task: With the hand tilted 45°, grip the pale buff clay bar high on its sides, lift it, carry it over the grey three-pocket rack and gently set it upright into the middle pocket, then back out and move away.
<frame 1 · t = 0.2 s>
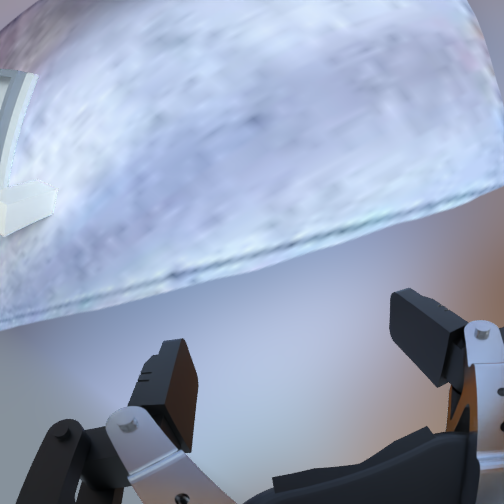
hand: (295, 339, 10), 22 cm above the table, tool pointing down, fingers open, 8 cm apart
clay bar: (45, 196, 29), on the table
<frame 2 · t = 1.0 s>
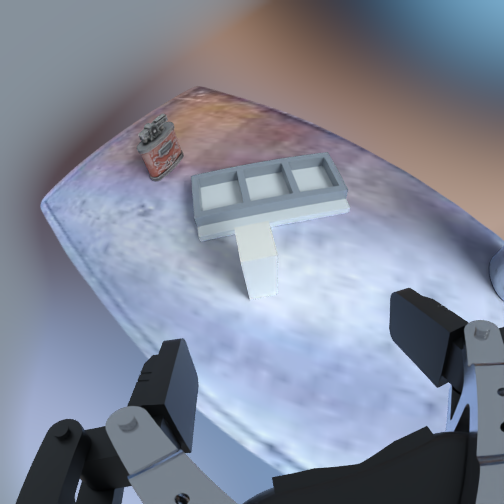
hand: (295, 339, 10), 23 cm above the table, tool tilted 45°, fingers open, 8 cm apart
clay bar: (260, 283, 36), on the table
rack: (267, 195, 43), on the table
lighter: (167, 167, 49), on the table
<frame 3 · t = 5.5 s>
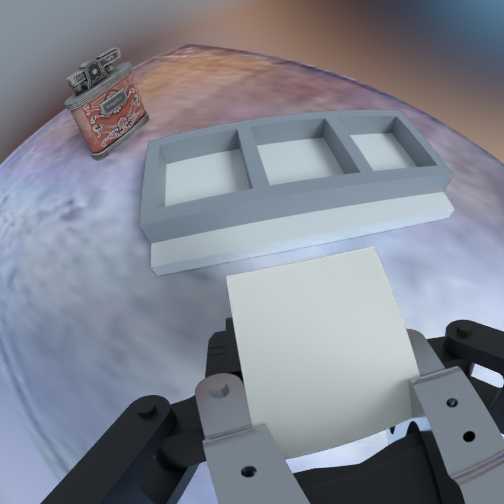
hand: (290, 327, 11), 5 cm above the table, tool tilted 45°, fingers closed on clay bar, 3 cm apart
clay bar: (294, 383, 14), on the table, touching gripper
rack: (299, 178, 21), on the table
lighter: (122, 137, 27), on the table
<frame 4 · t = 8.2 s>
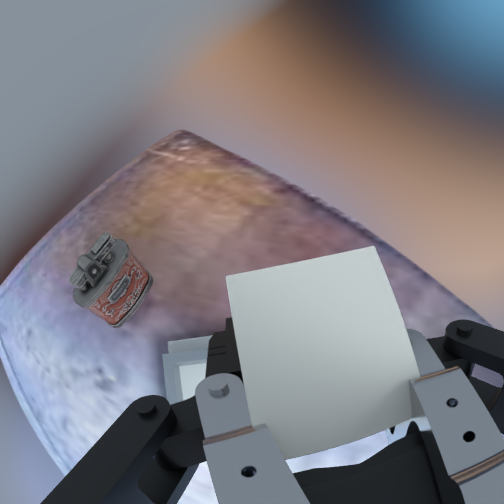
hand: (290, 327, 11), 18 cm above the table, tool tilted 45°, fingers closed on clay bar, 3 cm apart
clay bar: (293, 383, 14), point 13 cm above the table, touching gripper
rack: (284, 383, 26), on the table
lighter: (130, 300, 32), on the table
when the fingers open (7 cm above the table, at t = 10.7 s): clay bar drops 1 cm, resting on rack.
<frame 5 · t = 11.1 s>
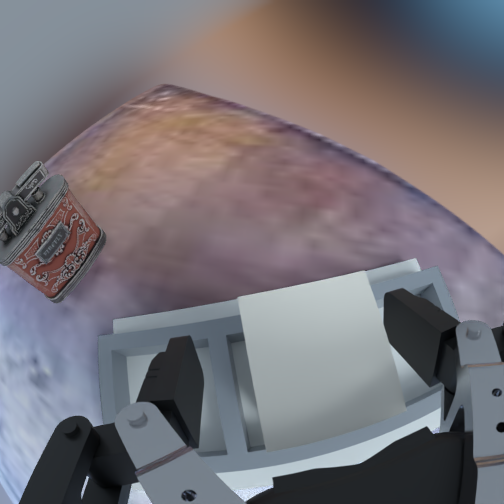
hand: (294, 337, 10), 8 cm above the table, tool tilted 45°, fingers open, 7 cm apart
clay bar: (294, 384, 15), point 1 cm above the table, touching rack
rack: (290, 386, 16), on the table
lighter: (77, 266, 22), on the table
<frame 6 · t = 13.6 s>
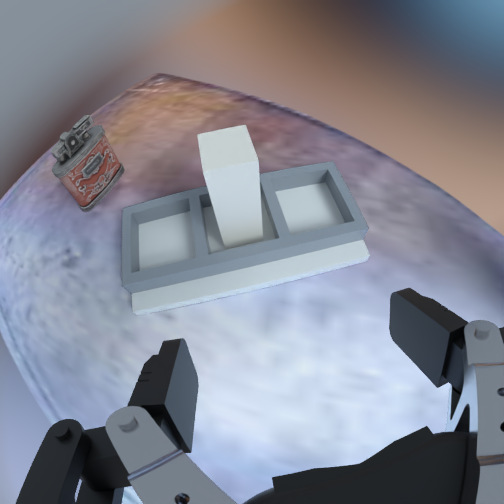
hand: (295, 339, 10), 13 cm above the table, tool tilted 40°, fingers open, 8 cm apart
clay bar: (239, 227, 27), point 1 cm above the table, touching rack
rack: (239, 234, 28), on the table
lighter: (103, 188, 33), on the table
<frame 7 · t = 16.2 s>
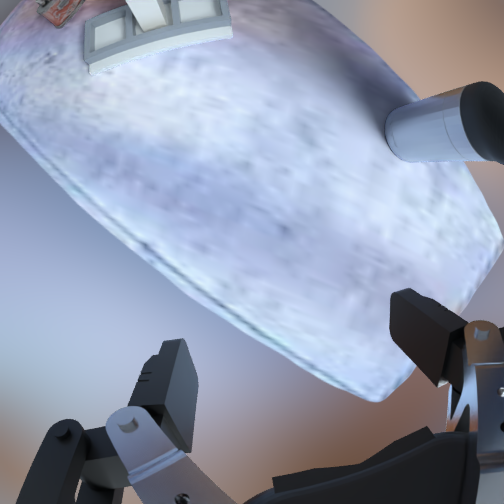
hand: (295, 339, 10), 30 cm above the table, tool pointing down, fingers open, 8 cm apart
clay bar: (155, 20, 29), point 1 cm above the table, touching rack
rack: (156, 24, 31), on the table
lighter: (71, 12, 27), on the table
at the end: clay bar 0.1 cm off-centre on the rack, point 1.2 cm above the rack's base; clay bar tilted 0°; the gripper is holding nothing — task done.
